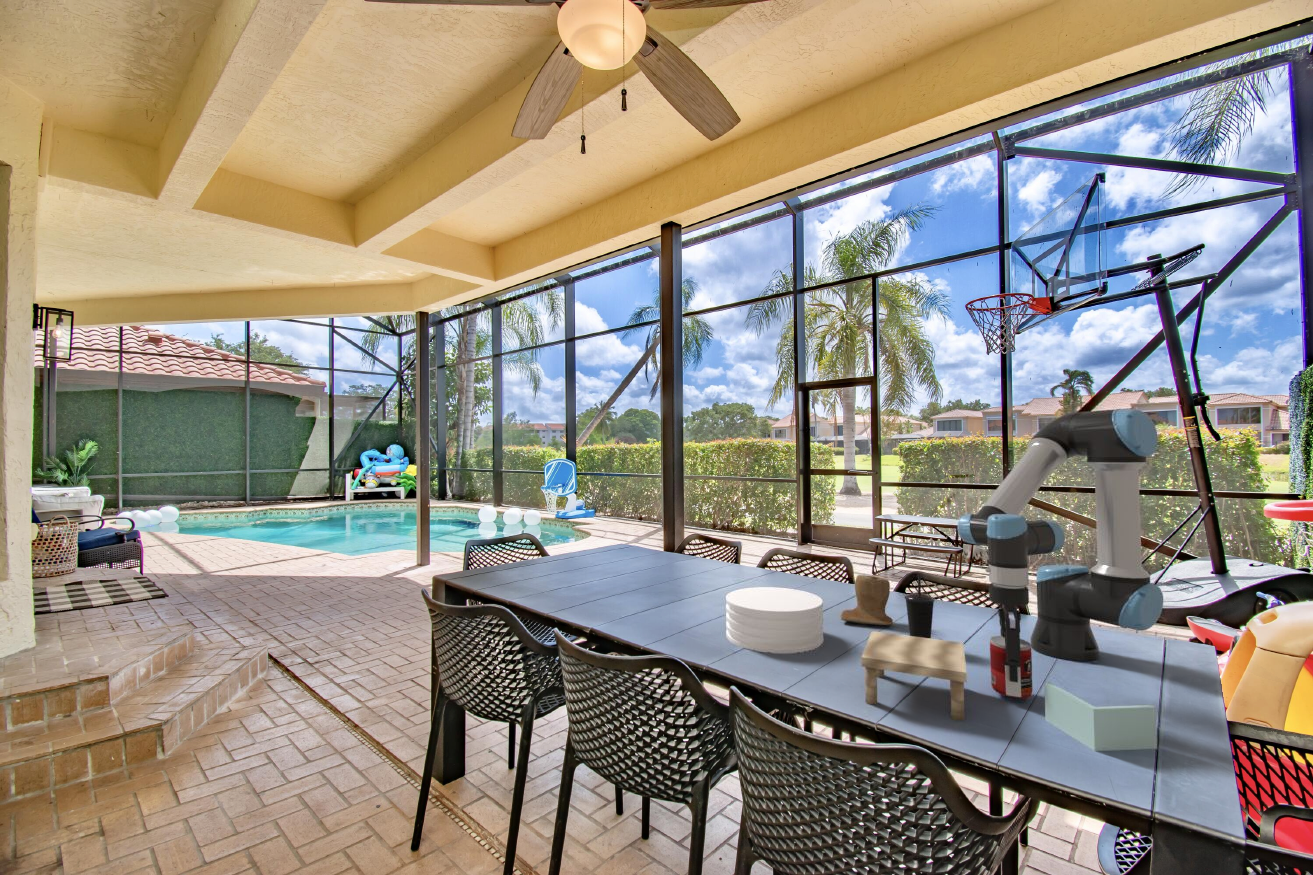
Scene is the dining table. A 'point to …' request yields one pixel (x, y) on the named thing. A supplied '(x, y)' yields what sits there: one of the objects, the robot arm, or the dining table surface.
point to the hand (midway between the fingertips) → (1011, 687)
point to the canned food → (999, 669)
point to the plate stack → (774, 619)
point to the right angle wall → (1101, 722)
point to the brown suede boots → (869, 601)
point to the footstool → (915, 663)
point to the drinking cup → (920, 612)
